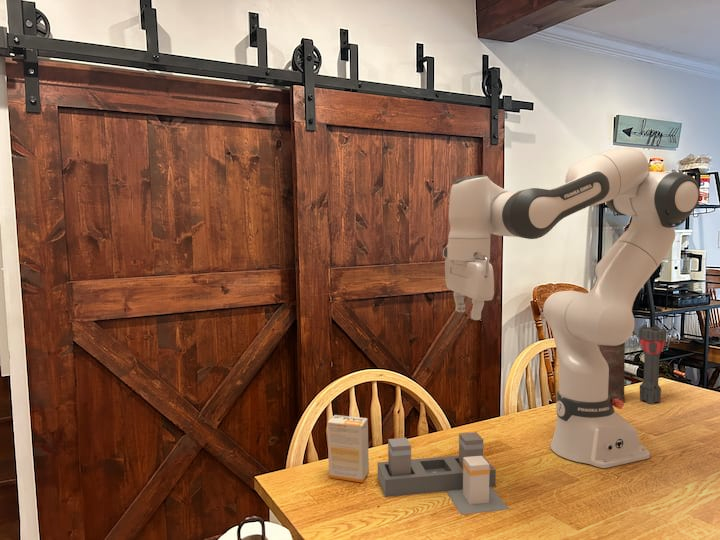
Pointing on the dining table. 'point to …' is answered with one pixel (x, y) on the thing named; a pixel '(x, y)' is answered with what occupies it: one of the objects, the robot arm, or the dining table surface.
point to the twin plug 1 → (399, 457)
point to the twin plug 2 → (470, 446)
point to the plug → (476, 479)
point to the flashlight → (651, 362)
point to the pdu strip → (427, 477)
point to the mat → (466, 508)
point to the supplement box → (348, 448)
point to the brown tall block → (615, 369)
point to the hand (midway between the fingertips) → (467, 315)
